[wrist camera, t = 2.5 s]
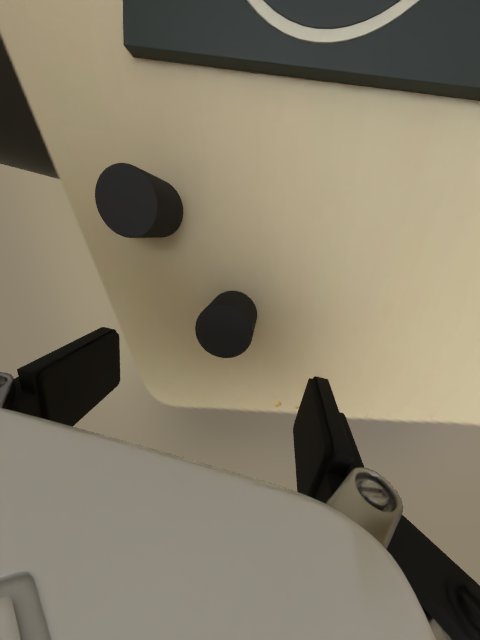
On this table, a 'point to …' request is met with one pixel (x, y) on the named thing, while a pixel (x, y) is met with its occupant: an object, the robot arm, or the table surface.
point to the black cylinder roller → (137, 202)
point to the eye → (227, 324)
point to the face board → (319, 39)
